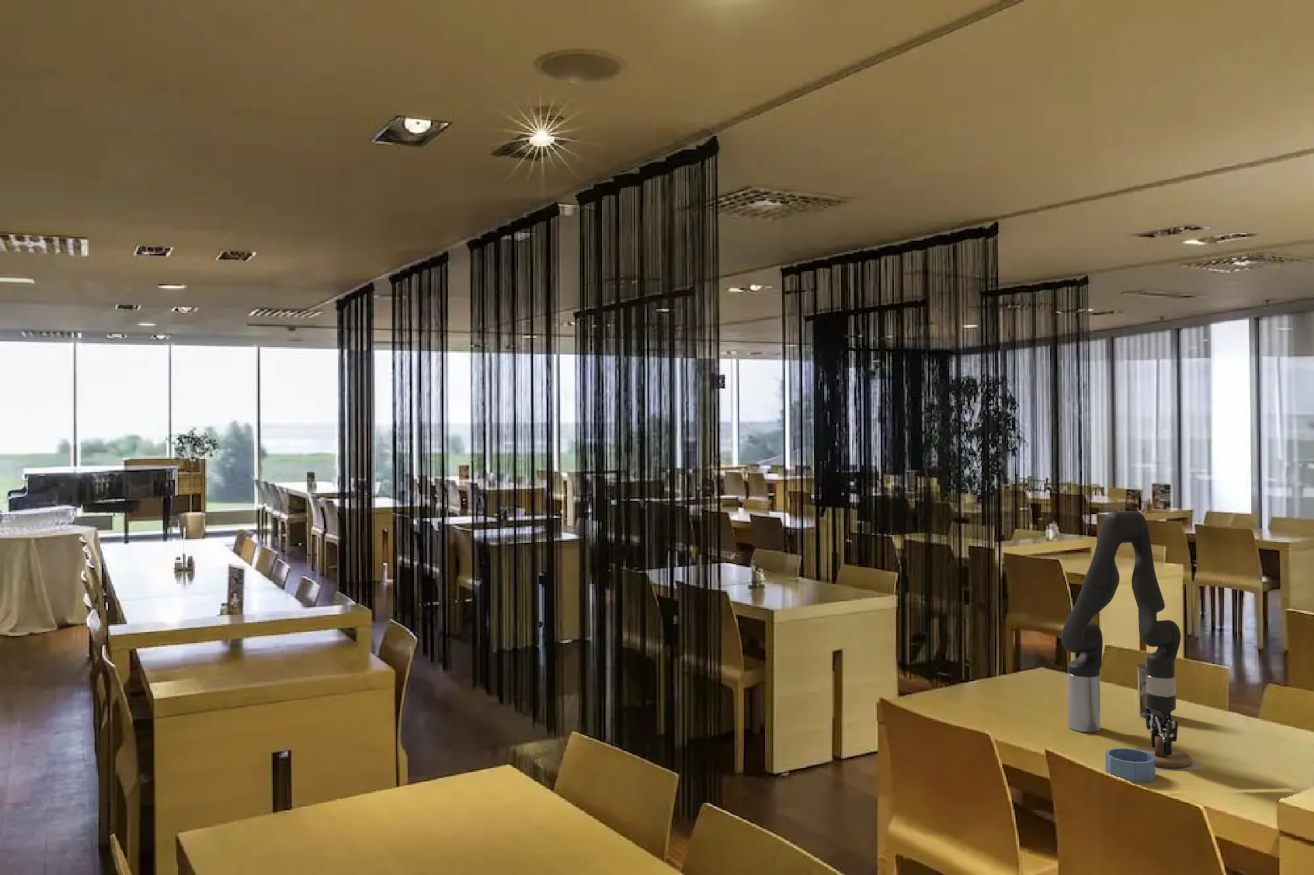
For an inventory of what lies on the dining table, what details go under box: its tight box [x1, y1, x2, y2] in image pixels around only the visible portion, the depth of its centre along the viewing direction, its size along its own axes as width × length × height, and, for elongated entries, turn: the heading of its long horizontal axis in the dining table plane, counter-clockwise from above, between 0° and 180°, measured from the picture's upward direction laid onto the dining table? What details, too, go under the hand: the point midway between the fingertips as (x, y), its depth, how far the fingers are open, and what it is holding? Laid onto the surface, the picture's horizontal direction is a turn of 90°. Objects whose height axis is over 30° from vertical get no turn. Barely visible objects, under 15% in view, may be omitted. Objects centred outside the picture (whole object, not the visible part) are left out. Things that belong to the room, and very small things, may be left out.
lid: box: [1135, 735, 1193, 769], centre depth 280 cm, size 15×15×6 cm
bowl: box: [1105, 747, 1157, 784], centre depth 269 cm, size 12×12×6 cm
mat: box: [1156, 760, 1205, 771], centre depth 280 cm, size 16×16×1 cm
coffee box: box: [1137, 663, 1148, 718], centre depth 324 cm, size 9×6×16 cm
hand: (1161, 750), depth 280 cm, fingers open, 5 cm apart
